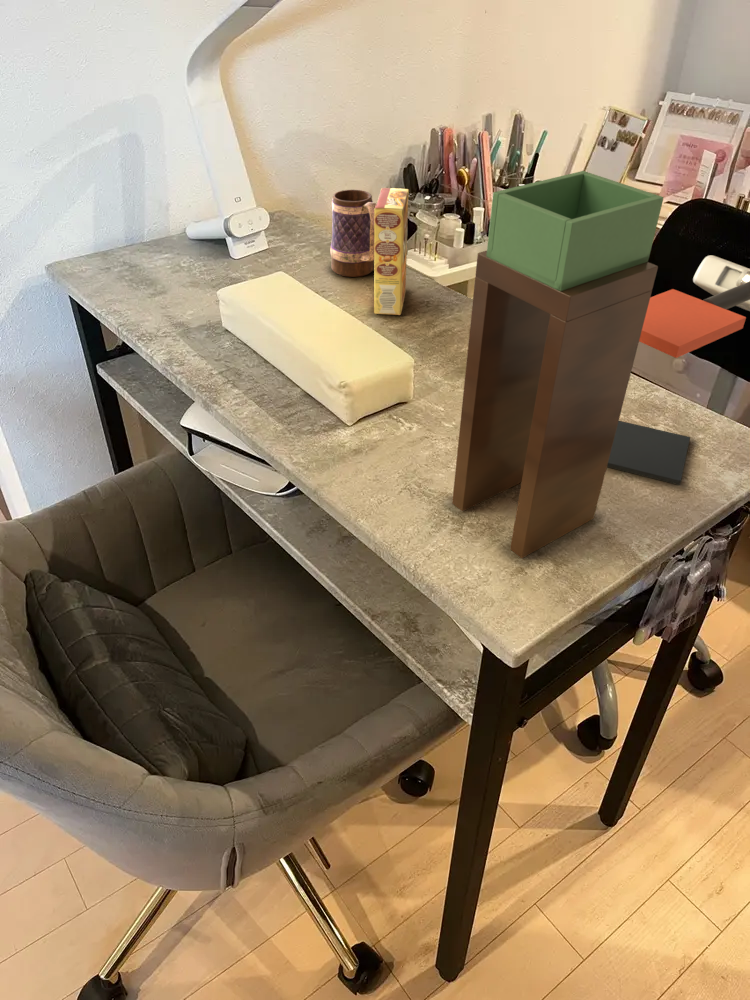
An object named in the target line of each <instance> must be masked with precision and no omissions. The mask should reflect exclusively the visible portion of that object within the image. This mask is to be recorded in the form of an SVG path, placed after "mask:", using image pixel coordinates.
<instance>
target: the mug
mask: <svg viewBox="0 0 750 1000" xmlns="http://www.w3.org/2000/svg"><path fill="white" fill-rule="evenodd" d="M376 204H377V202H374V201H373V195H372V194H371V193H370V192H369V191H365V190H362V189H343V190H338V191H336V192H334V193H333V194H332V200H331V210H332V211H331V214H332V215H331V219H332V220H331V242H330V257H331V265H330V266H331V270H332V271H333V272H334V273H335V274H337V275H339V276H342V277H347V278H348V277H349V278H359V277H364V276H367V275H369V274H371V273H372V272H373V271H374V208H375V206H376Z"/></svg>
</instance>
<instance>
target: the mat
mask: <svg viewBox="0 0 750 1000" xmlns="http://www.w3.org/2000/svg"><path fill="white" fill-rule="evenodd" d="M690 442H691V437H690V436H688V435H683V434H678V433H675V432H670V431H667V430H661V429H656V428H653V427H648V426H644V425H640V424H635V423H631V422H626V421H622V420H619V421H618V425H617V429H616V433H615V437H614V441H613V445H612V449H611V453H610V457H609V460H608V464H607V468H609V469H614V470H618V471H621V472H625V473H629V474H633V475H637V476H642V477H646V478H649V479H654V480H656V481H657V480H658V481H662V482H665V483H669V484H674V485H677V486H681V482H682V478H683V473H684V469H685V466H686V465H685V464H686V459H687V455H688V452H689V451H688V449H689V446H690Z"/></svg>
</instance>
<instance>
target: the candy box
mask: <svg viewBox="0 0 750 1000" xmlns="http://www.w3.org/2000/svg"><path fill="white" fill-rule="evenodd" d="M409 193H410V189H408V188H397V187H396V188H395V187H392V188H391V187H382V188H381V189H380V191H379V194H378V198H377V201H376V206H375V208H374V269H373V271H374V273H373V274H374V275H373V277H374V278H373V279H374V281H373V282H374V288H373V289H374V292H373V295H374V298H373V299H374V301H373V306H374V307H373V313H374V314H375V315H377V314H378V315H392V316H400V315H401V314H402V311H403V307H404V301H405V298H406V297H405V296H406V290H407V260H408V259H407V257H408V256H407V255H408V254H407V253H408V252H407V251H408V229H409V228H408V225H409V224H408V221H409V220H408V219H409V195H410V194H409Z"/></svg>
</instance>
